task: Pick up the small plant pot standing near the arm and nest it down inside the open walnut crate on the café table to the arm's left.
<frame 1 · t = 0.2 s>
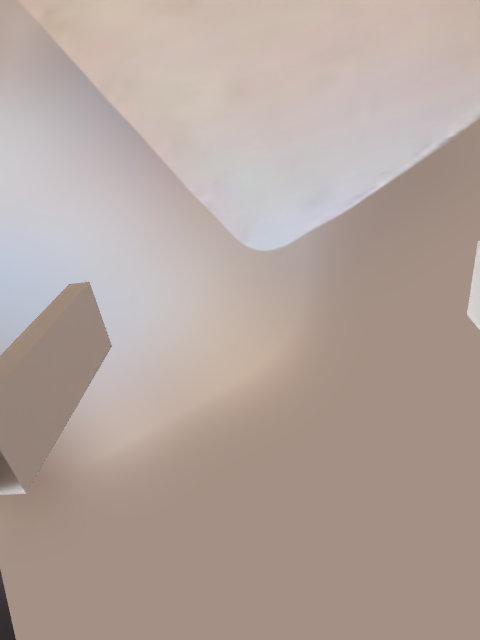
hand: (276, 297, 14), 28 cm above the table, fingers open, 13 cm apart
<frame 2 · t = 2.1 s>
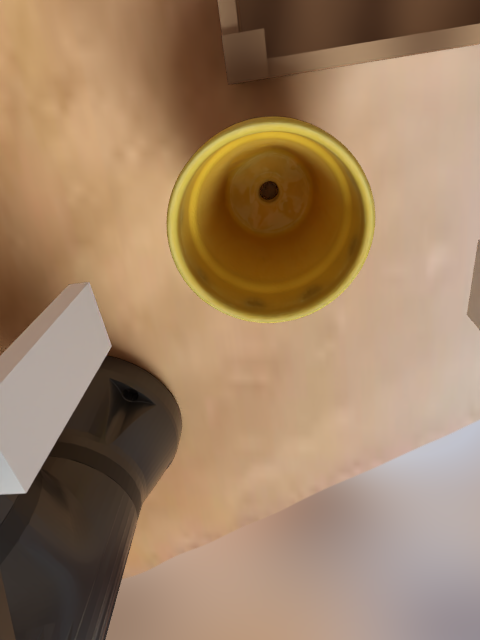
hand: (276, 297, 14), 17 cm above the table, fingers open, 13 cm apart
plant pot: (267, 189, 29), on the table
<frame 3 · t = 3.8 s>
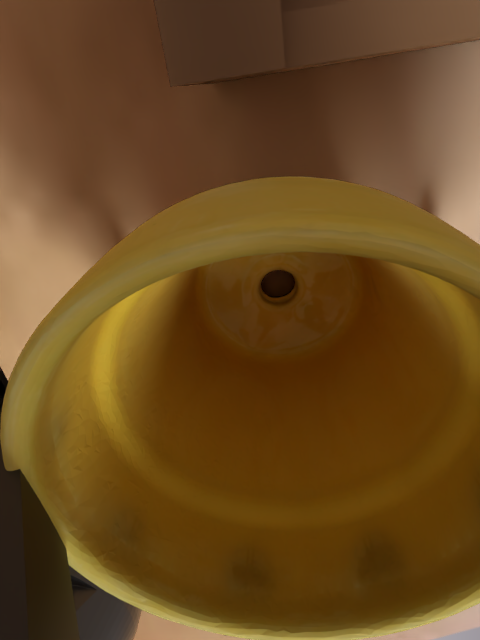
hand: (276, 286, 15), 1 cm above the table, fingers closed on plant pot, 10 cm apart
plant pot: (275, 276, 16), on the table, touching gripper
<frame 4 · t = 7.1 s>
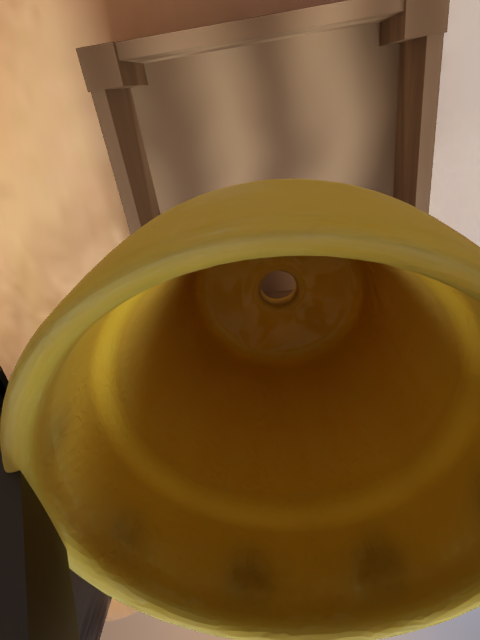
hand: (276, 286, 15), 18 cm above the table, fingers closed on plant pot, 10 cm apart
walnut crate: (271, 182, 30), on the table
plant pot: (276, 278, 16), point 17 cm above the table, touching gripper
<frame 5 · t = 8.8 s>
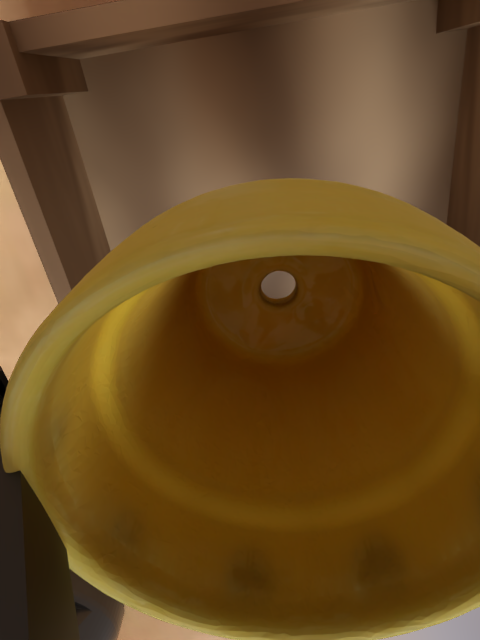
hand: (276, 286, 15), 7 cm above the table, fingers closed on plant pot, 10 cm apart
walnut crate: (271, 227, 22), on the table
plant pot: (276, 278, 16), point 7 cm above the table, touching gripper
when the fingers open (3 cm above the table, at t = 10.2 s): plant pot drops 2 cm, resting on walnut crate.
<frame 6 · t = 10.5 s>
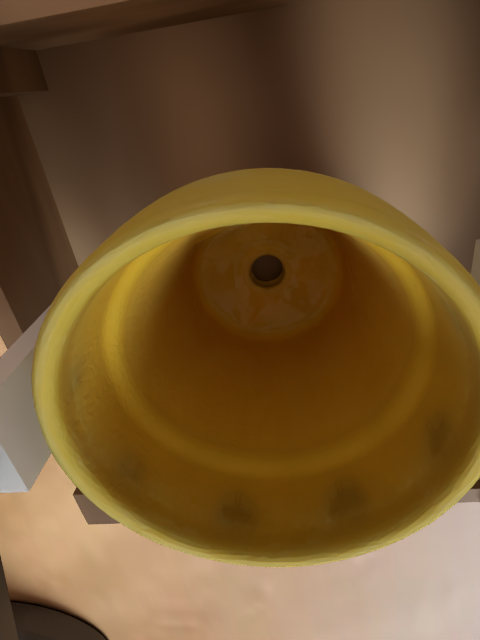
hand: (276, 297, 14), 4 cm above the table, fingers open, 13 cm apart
walnut crate: (274, 253, 18), on the table
plant pot: (265, 262, 18), point 1 cm above the table, touching walnut crate
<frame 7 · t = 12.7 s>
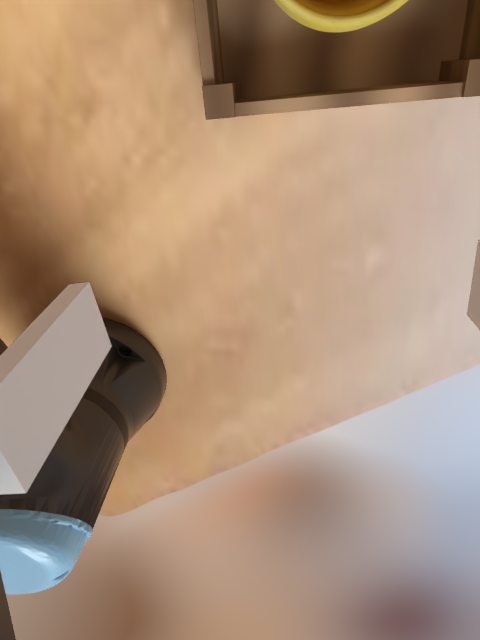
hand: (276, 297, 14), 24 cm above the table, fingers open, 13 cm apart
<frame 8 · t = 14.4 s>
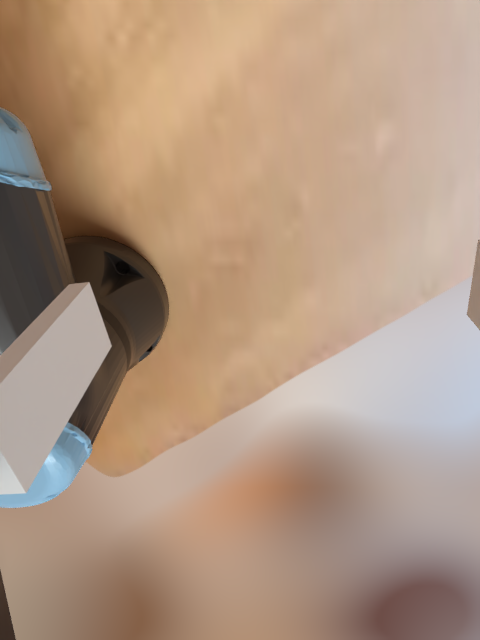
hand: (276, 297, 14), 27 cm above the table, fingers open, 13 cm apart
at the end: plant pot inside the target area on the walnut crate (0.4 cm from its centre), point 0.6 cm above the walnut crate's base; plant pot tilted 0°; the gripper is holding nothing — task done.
